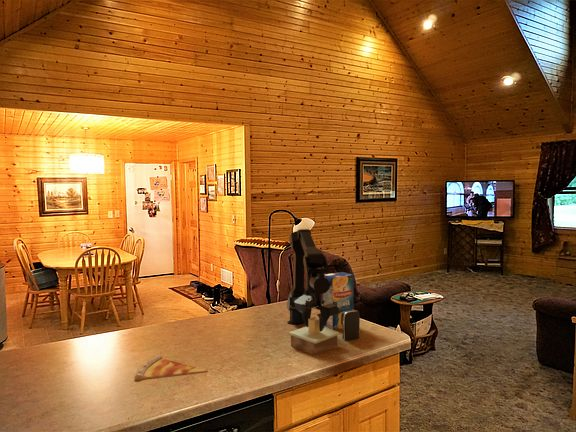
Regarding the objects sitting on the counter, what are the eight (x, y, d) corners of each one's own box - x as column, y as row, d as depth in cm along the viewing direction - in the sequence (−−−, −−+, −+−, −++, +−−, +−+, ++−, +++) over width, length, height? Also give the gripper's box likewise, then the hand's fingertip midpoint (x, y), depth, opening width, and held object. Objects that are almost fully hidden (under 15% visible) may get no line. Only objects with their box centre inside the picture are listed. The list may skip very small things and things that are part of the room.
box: (290, 347, 160) (290, 334, 160) (312, 339, 169) (313, 326, 168) (315, 357, 152) (315, 342, 151) (337, 347, 160) (337, 334, 160)
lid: (289, 334, 160) (289, 318, 159) (312, 326, 169) (312, 311, 168) (315, 343, 151) (315, 327, 150) (339, 334, 160) (339, 318, 159)
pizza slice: (172, 393, 126) (172, 386, 126) (119, 376, 137) (119, 370, 137) (207, 373, 140) (207, 367, 140) (157, 359, 151) (157, 353, 151)
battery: (354, 336, 172) (354, 308, 171) (359, 339, 168) (360, 310, 168) (339, 339, 169) (339, 310, 168) (345, 342, 165) (345, 313, 164)
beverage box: (322, 326, 184) (322, 274, 182) (343, 322, 190) (343, 271, 188) (332, 331, 178) (332, 277, 177) (353, 326, 184) (353, 274, 182)
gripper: (280, 286, 159) (280, 328, 161) (319, 295, 146) (318, 341, 147) (301, 281, 167) (301, 321, 168) (340, 290, 154) (339, 333, 155)
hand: (314, 329), depth 160 cm, fingers open, 6 cm apart
